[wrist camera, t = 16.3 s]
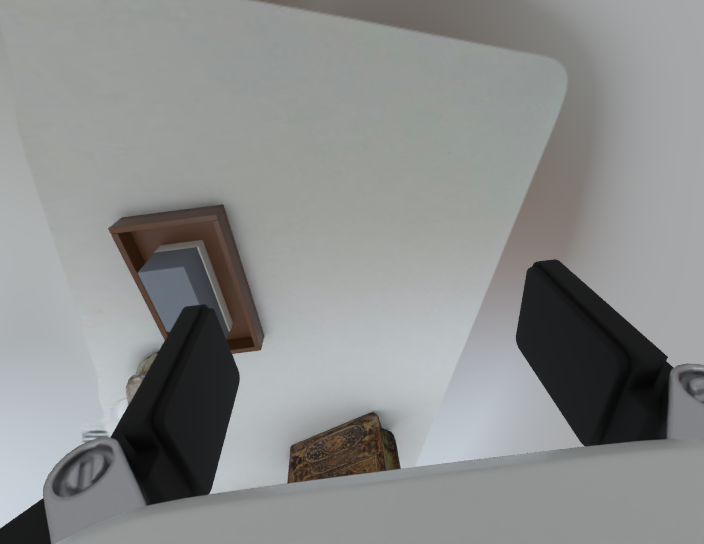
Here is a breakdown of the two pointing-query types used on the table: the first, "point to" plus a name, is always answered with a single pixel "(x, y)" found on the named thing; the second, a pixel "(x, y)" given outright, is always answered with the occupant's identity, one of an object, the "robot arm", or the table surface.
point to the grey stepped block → (183, 282)
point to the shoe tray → (213, 228)
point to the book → (344, 452)
